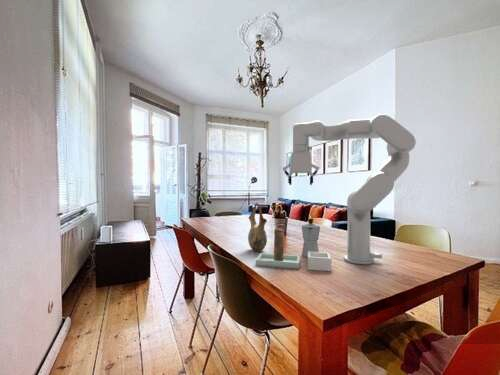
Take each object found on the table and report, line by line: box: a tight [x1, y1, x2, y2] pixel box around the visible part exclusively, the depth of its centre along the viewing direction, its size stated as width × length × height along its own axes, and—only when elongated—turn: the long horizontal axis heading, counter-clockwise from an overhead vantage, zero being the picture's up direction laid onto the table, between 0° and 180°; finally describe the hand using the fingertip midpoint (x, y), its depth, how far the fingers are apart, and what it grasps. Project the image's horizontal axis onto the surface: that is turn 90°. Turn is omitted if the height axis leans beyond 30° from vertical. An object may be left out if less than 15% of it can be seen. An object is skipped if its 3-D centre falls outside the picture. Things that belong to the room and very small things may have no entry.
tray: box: [255, 252, 301, 270], centre depth 108 cm, size 18×11×2 cm, turn 77°
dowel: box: [273, 228, 285, 261], centre depth 108 cm, size 4×4×14 cm
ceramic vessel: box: [247, 202, 268, 253], centre depth 129 cm, size 16×9×25 cm, turn 27°
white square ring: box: [307, 251, 332, 272], centre depth 104 cm, size 9×9×5 cm
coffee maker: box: [301, 218, 321, 259], centre depth 121 cm, size 15×9×18 cm, turn 161°
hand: (300, 184), depth 120 cm, fingers open, 9 cm apart
